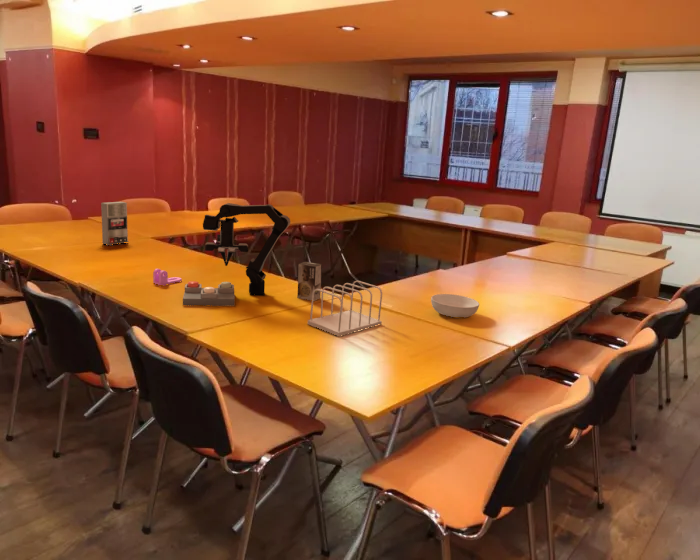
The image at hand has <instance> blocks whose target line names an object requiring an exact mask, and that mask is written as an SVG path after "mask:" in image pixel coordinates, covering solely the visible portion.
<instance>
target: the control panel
mask: <svg viewBox="0 0 700 560" xmlns="http://www.w3.org/2000/svg"><path fill="white" fill-rule="evenodd" d="M202 286H203V285H202V283H199V285H198V288H197V287H188V283H186V284H185V285H184V293H183V296H182V306H183V305H187V307H188V305H189V307H195V306H194V305H203V306H204V305H205V307H207V306H206V305H210V306H209V307H214V306H216V307H235V304H236V303H235V298H236V297H235V284H232V283H231V288H221V283H219V284H218V285H217V287H214V288H215V293H204V288H205V287H202ZM190 305H191V306H190ZM192 305H193V306H192ZM211 305H212V306H211ZM203 306H202V307H203Z"/></svg>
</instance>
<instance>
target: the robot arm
mask: <svg viewBox="0 0 700 560" xmlns="http://www.w3.org/2000/svg"><path fill="white" fill-rule="evenodd" d="M262 214H263V215H266V216H268V218H269V219H270V220H271V221H272V222H273V223H274V224H273V227H272V230H271V233H270V235H269V236H268V238H267V240H266V242H265V243H264V244H263V247H262V248H261V250H260V252H259V253H258V255H257V257H256V258H254V257H253V258H251V259H250V260H249V262H248V265H247V266H246V267H245V269H246V270H245V275H246V276H247V278H249V283H248V294H249V295H250V296H265V285H266V284H265V279H266V276H267V275H266V273H265V272H264V271H263V268H264V264H265V262H266V260H267V258H268V256H269V255H270V253H271V250H273V248H274V246H275V244H276V243H277V241H278V239H279V238H280V237H281V235H282V234H283V233H284V232H285V231H286V230H287V229H288V227H289V226H290V225H291V218H290V217H289V216H288V215H285V214H283V213H282V212H281V211H279V210H278V209H277V208H275V207H274V206H273V204H270V203H269V204H252V205H251V204H250V205H248V204H247V205H246V204H245V205H241V204H237V203H231V202H230V203H229V202H227V203H225V204H223V205H221V206H220V207H219V212H218V213H217V214H216V215H210V214H205V215H204V218H203V221H202V229H203V230H204V231H214V232H216V231H218V230H220V231H219V233H220V234H217V236H216V238H217V240H216V242H217V243H219V244H215V242H211V241H210V242H208V241H207V242H206V243H205V245H204V246H205V247H204V251H207V252H210V251H211V252H212V251H214V250H218V254H220V255H221V256H222V259H223V262H224V266H225V267H227V266H228V264H229V262H230V259H231V258H232V255H233V254H236V250H238V251H239V252H241V253H243V252H244V253H248V252H249V245H248V244H247V243H242V242H241V243H238V245H237V244H234V227H235V224H237V223H238V222H239V219H238V218H236V217H237V216H239V215H262ZM226 250H227V255H226ZM226 256H227V257H226Z"/></svg>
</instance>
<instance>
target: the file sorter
mask: <svg viewBox="0 0 700 560" xmlns="http://www.w3.org/2000/svg"><path fill="white" fill-rule="evenodd" d="M356 283H359V284H363V285H366V286H370V287H371V288H372V287H373V288H377V289H378V290H379V291H380V292H379V293H380V299H379V307H378V317H377V318H374V317H371V315H372V303H373V293H372V291H371V290H370V289H369V288H366V287H363V286H360V285H356ZM346 285H347V286H346ZM348 286H351V287H348ZM336 287H339V288H342V290H341V289H337V288H336ZM355 288H358V289H362V290H365V291H367V292H369V295H370V298H369V299H370V300H369V313H368V315H366V314H364V313H362V309H363V295H362V291H360V290H358V289H355ZM326 289H329V290H332V291H331V292H328V291H326ZM345 289H346V290H350V291H351V293H350V292H347V291H344V290H345ZM316 290H317V291H320V292H321V295H320V299H321V300H320V316H319V317H315V318H313V313H314V312H313V311H314V301H313V299H314V292H315V291H316ZM335 292H339V293H341V297H340V296H339V295H336V294H335ZM354 292H356V293H358V294H359V295H360V305H359V307H360V308H359V312H358V311H356V310H355V311H354V310H353V300H354ZM324 294H326V295H329V296H331V306H330V308H331V309H330V314H328V315H323V312H324V311H323V307H324V306H323V304H324ZM344 294H345V295H348V296H349V298H350V308H349V309H350V310H349V309H348V310H345V311H343V309H344V308H343V307H344V305H343V304H344ZM334 297H335V298H337V299H339V302H340V307H339V312H337V313H333V310H334ZM382 300H383V290H382V289H381V287H379V286H377V285H374V284H370V283H368V282H364V281H361V280H355V281H353V282H352V283H349V282H346V283H344V284H343V285H341V284H335V285H334V286H333V287H331V286H324V287H323V288H321V290H320V289H315V290H314V291H313V293H312V301H311V305H310V306H311V307H310V316H309V318H310V319H307V325H309V326H312V327H313V328H316V327H317V328H316V329H318V328H319V329H318V330H321V329H322V330H321V331H323V330H324V331H323V332H326V331H327V332H326V333H328V332H330V333H329V334H331V333H332V334H331V335H333V334H335V335H337V336H336V337H338V336H340V337H342V336H341V335H344V334H347V335H349V334H348V333H351V332H354V331H358V330H361V329H365V328H368V327H371V326H375V325H378V324H381V325H382V323H383V322H382V320H381V319H380V318H381V311H382V310H381V309H382ZM365 330H366V329H365ZM358 332H359V331H358ZM354 333H355V332H354ZM351 334H352V333H351ZM335 335H334V336H335ZM344 336H345V335H344Z"/></svg>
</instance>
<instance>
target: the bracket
mask: <svg viewBox="0 0 700 560" xmlns="http://www.w3.org/2000/svg"><path fill="white" fill-rule="evenodd" d="M168 276H169V275H168V271H167V270H161V268H155V269H154V270H153V273H152V278H153V281H152V282H153V283H155V284H154V285H156V284H158V285H157V286H159V285H163V286H167V285H166V284H169V285H171V284H170V283H174V284H176V283H175V282H179V283H181V282H182V278H181V277H178V276H177V277H176V276H174V277H173V276H172V277H168ZM180 281H181V282H180Z"/></svg>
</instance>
